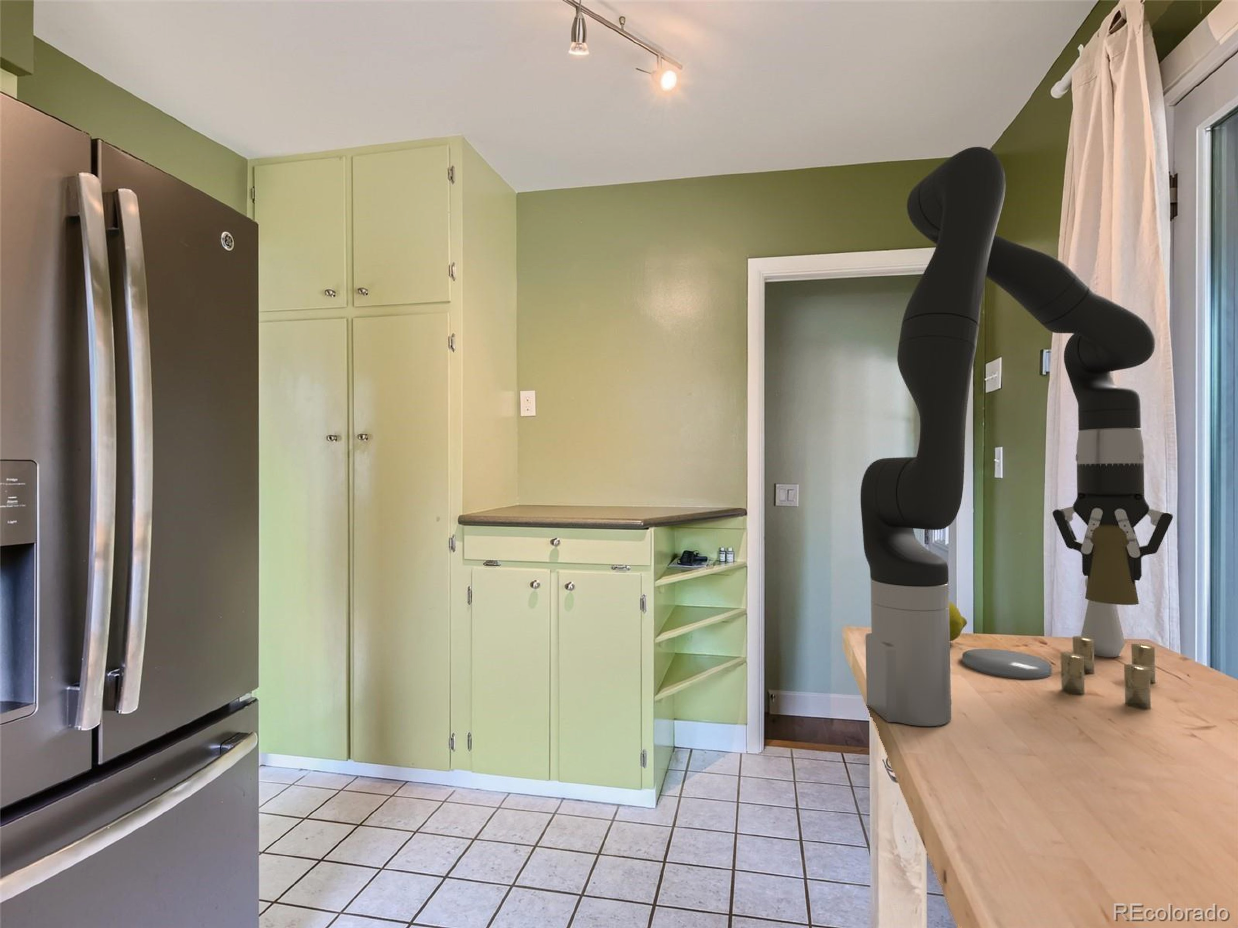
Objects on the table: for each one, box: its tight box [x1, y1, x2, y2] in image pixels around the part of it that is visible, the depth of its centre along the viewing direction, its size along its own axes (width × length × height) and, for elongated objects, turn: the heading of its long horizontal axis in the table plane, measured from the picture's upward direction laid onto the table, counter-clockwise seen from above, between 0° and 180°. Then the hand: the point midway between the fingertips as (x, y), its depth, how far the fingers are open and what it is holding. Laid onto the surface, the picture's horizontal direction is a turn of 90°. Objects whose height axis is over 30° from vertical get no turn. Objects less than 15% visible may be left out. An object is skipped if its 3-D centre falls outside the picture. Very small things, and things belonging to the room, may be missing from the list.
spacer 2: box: [1072, 635, 1095, 675], centre depth 94 cm, size 3×3×5 cm
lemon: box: [949, 601, 968, 642], centre depth 111 cm, size 11×8×8 cm
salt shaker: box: [1080, 576, 1126, 658], centre depth 103 cm, size 6×6×13 cm
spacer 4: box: [1123, 663, 1152, 710], centre depth 81 cm, size 3×3×5 cm
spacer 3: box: [1131, 643, 1156, 684], centre depth 90 cm, size 3×3×5 cm
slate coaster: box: [961, 648, 1053, 680], centre depth 97 cm, size 12×12×1 cm
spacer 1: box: [1060, 652, 1086, 696], centre depth 86 cm, size 3×3×5 cm
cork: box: [1084, 524, 1140, 606], centre depth 87 cm, size 6×6×11 cm
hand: (1111, 580), depth 87 cm, fingers closed on cork, 4 cm apart
